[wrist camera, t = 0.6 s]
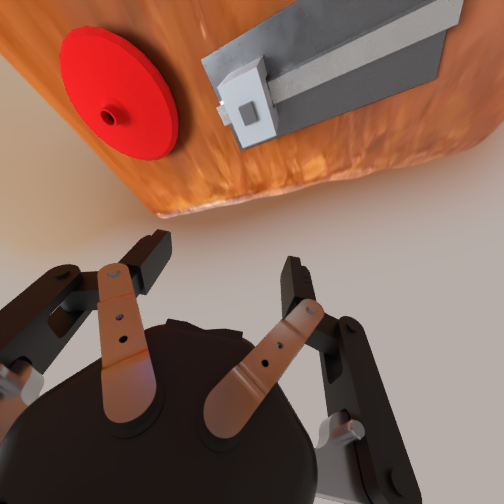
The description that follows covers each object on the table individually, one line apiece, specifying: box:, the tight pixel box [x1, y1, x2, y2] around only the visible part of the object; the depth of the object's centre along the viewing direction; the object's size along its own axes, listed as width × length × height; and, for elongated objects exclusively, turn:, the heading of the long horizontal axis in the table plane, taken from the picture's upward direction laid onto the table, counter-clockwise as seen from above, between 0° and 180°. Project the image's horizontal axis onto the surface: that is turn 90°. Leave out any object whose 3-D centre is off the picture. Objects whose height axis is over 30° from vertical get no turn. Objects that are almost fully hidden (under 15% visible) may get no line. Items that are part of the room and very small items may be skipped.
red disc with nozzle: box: [59, 26, 178, 161], centre depth 29 cm, size 16×16×7 cm
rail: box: [201, 0, 464, 151], centre depth 24 cm, size 12×26×3 cm, turn 112°
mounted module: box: [217, 56, 279, 148], centre depth 26 cm, size 7×5×7 cm
